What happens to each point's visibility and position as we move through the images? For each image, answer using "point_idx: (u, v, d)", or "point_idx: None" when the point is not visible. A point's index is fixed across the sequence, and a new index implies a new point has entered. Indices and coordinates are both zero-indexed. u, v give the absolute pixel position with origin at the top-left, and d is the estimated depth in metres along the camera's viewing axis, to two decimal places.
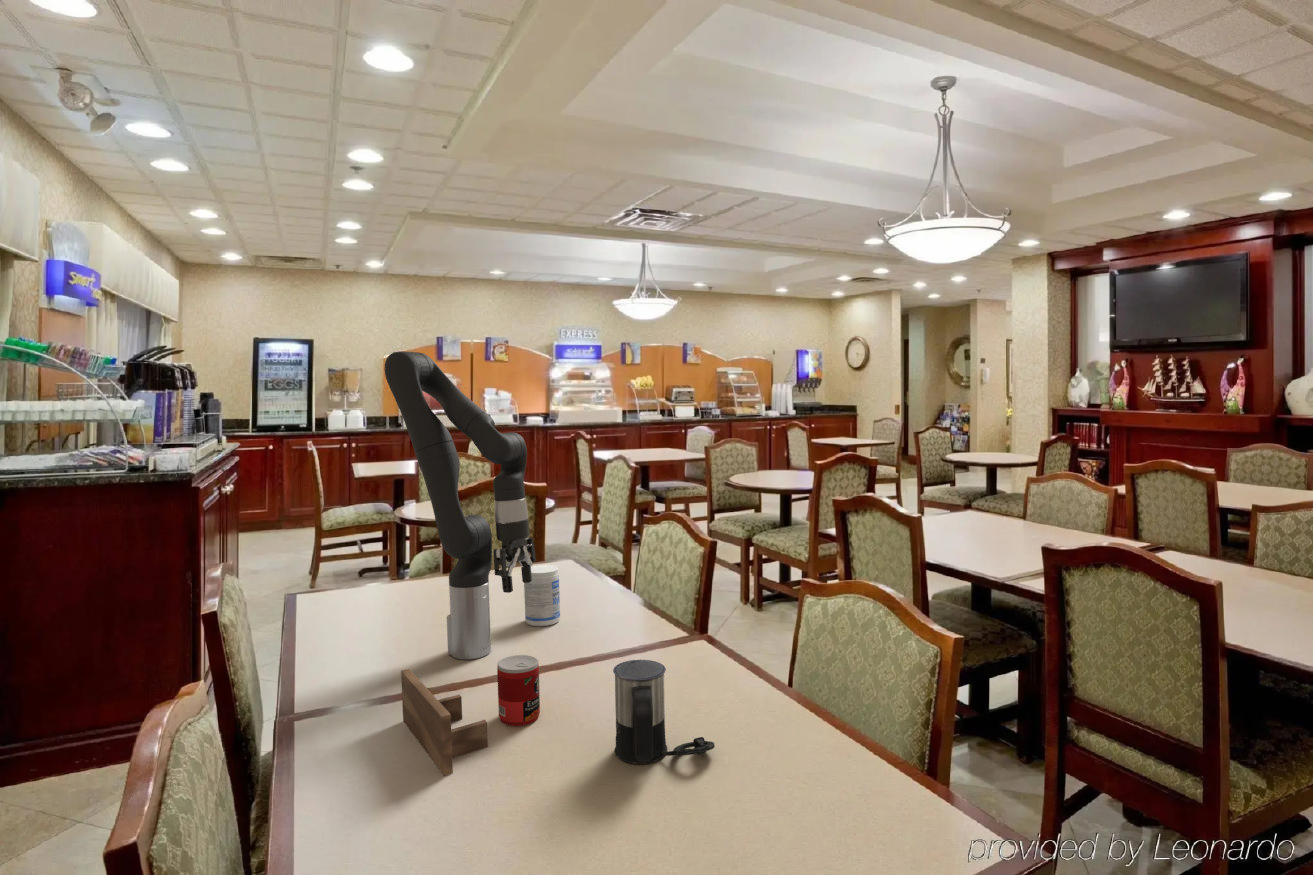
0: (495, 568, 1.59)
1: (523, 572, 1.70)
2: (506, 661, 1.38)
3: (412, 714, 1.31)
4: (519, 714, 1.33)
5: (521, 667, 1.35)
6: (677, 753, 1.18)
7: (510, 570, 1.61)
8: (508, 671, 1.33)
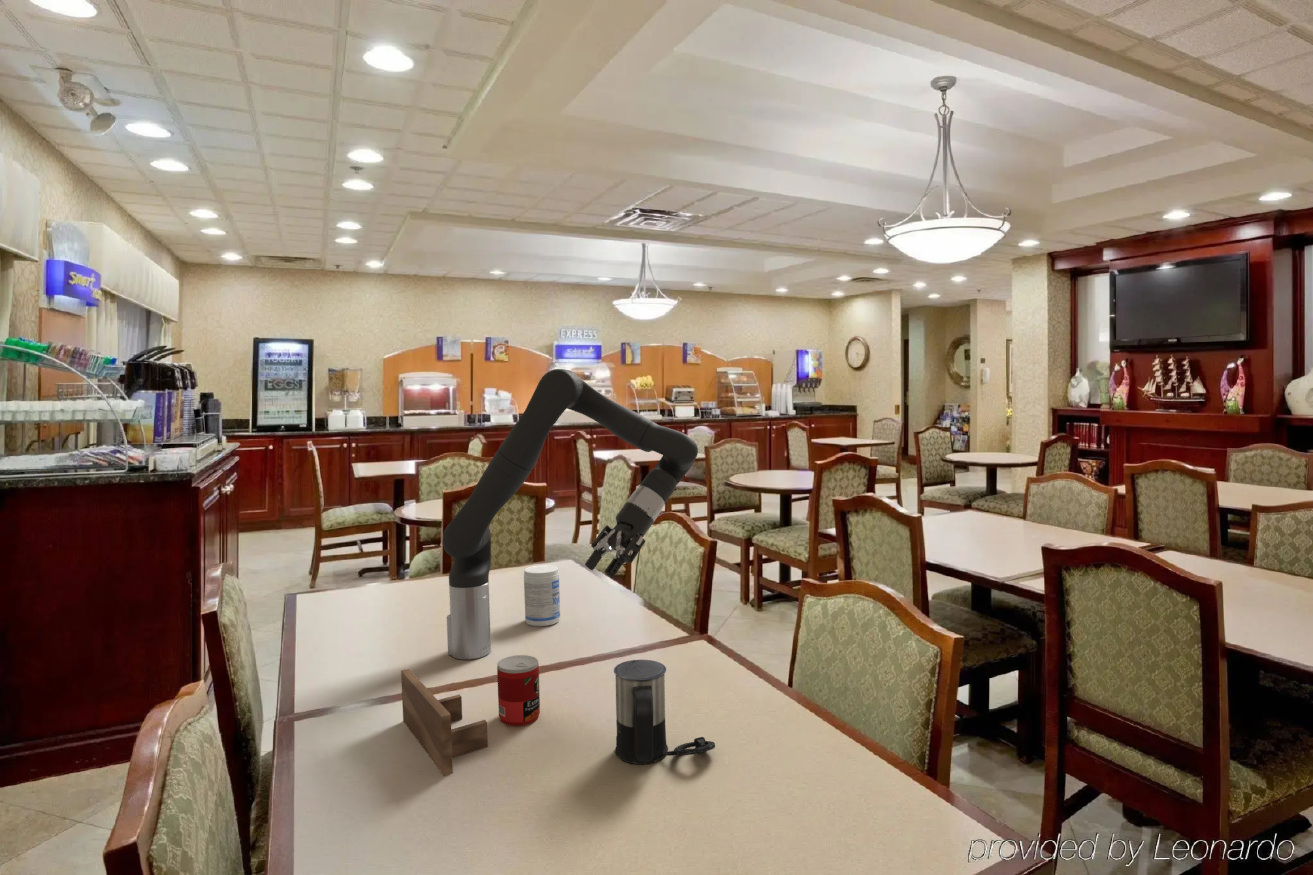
0: (628, 551, 1.47)
1: (594, 557, 1.55)
2: (506, 661, 1.38)
3: (412, 714, 1.31)
4: (519, 714, 1.33)
5: (521, 667, 1.35)
6: (678, 753, 1.18)
7: None
8: (508, 672, 1.33)
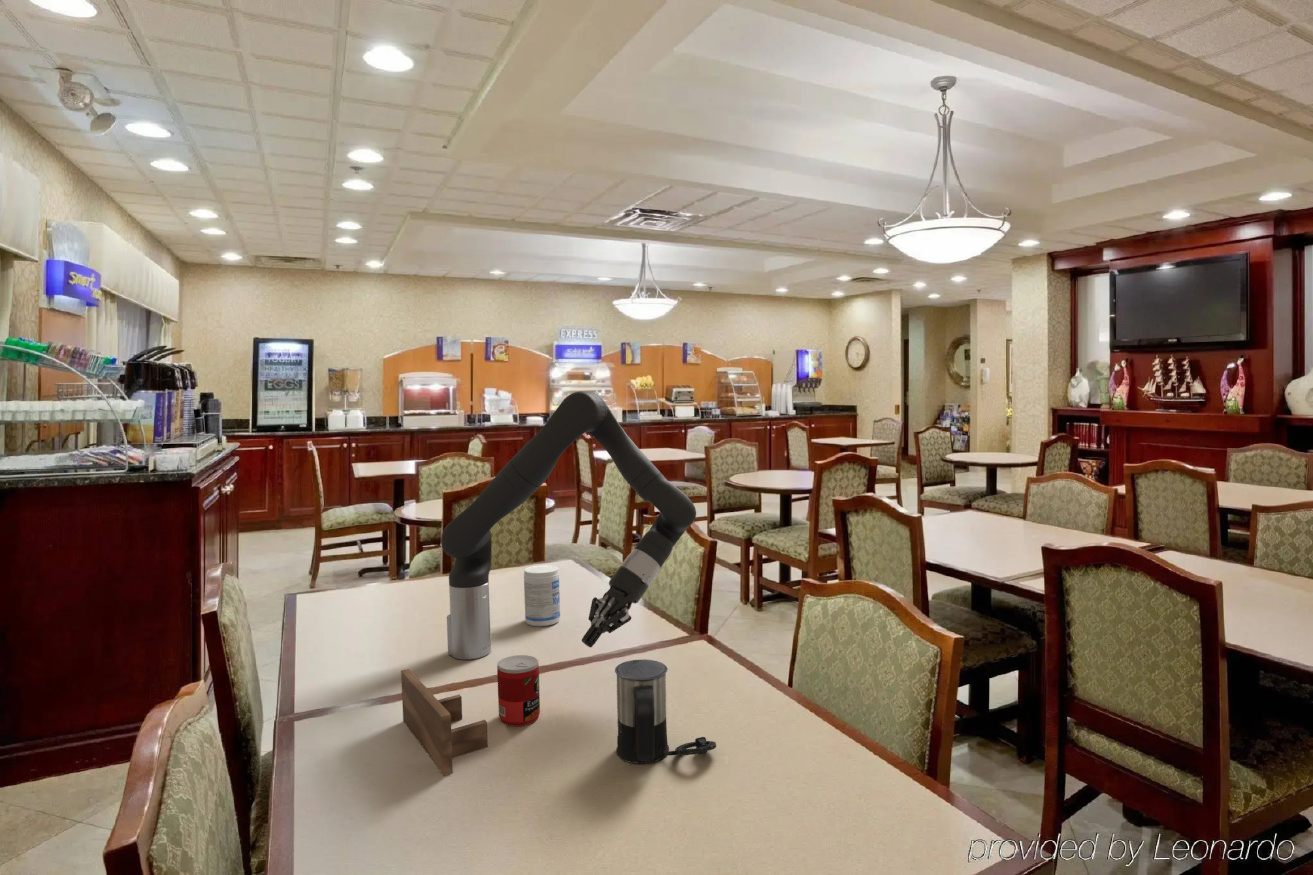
0: (608, 624, 1.44)
1: None
2: (506, 661, 1.38)
3: (412, 714, 1.31)
4: (519, 714, 1.33)
5: (521, 667, 1.35)
6: (679, 752, 1.18)
7: None
8: (508, 672, 1.33)
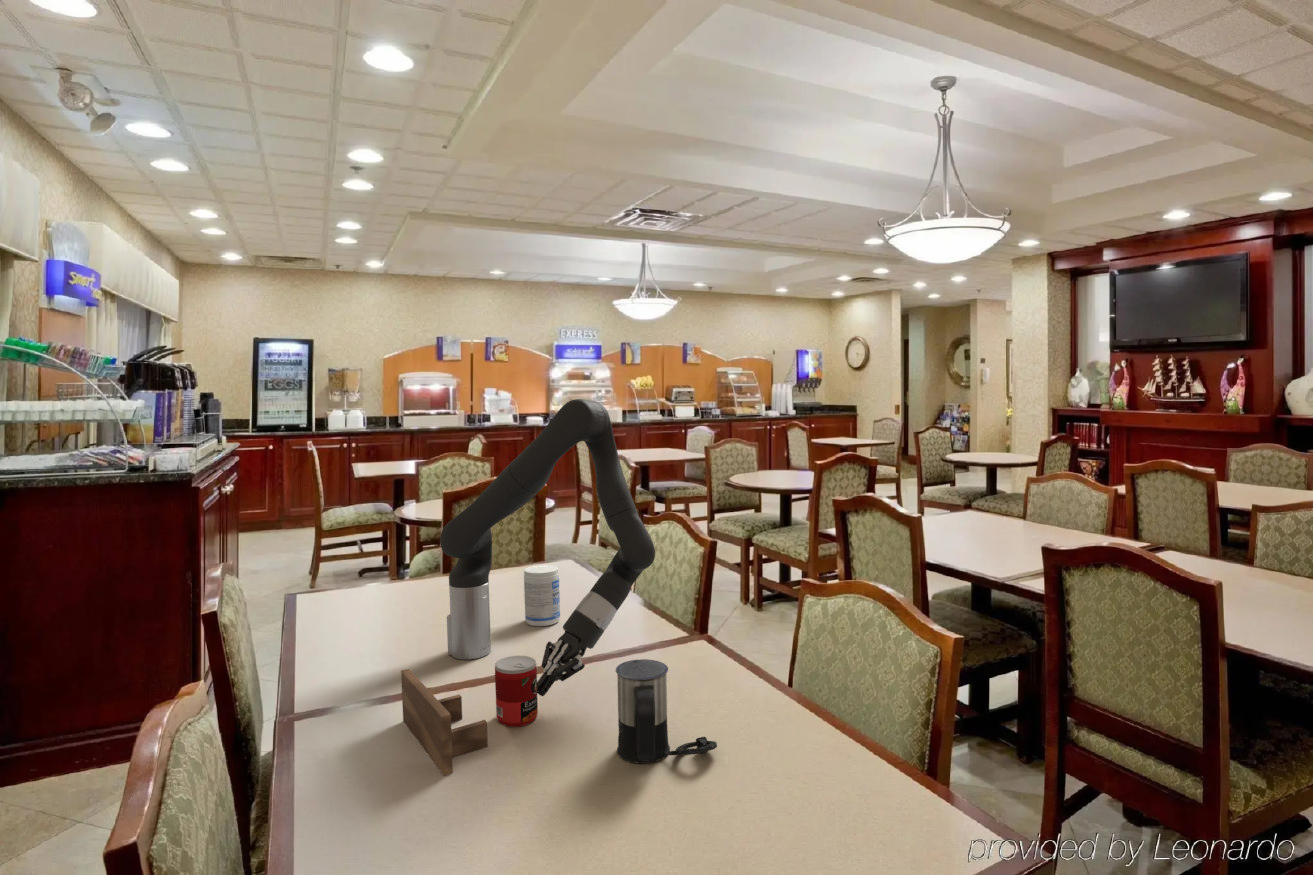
0: (560, 672, 1.38)
1: None
2: (504, 661, 1.38)
3: (412, 714, 1.31)
4: (516, 714, 1.33)
5: (519, 668, 1.34)
6: (680, 752, 1.18)
7: None
8: (505, 672, 1.33)
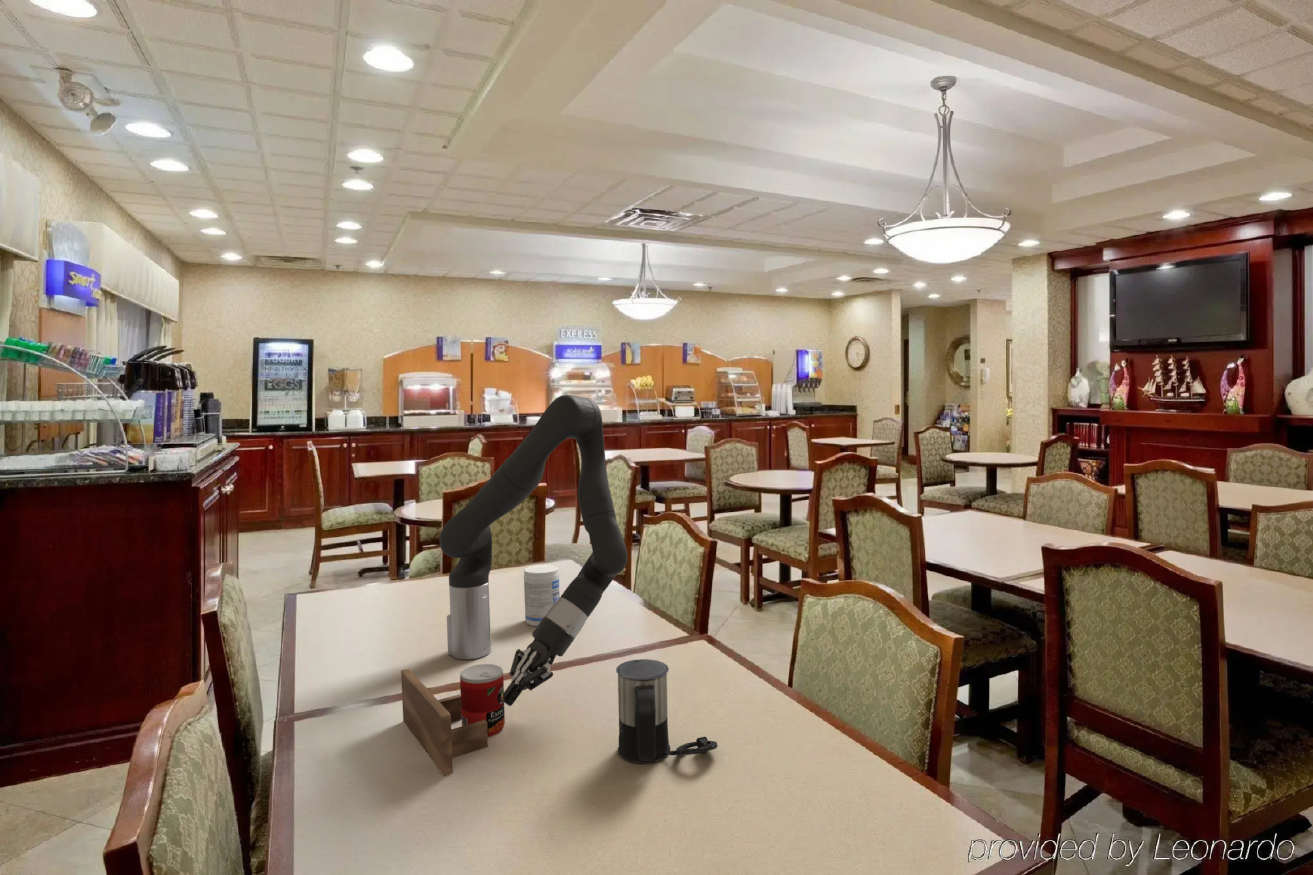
0: (528, 681, 1.34)
1: None
2: (470, 670, 1.34)
3: (412, 714, 1.31)
4: None
5: (484, 677, 1.30)
6: (680, 752, 1.18)
7: None
8: (470, 682, 1.29)
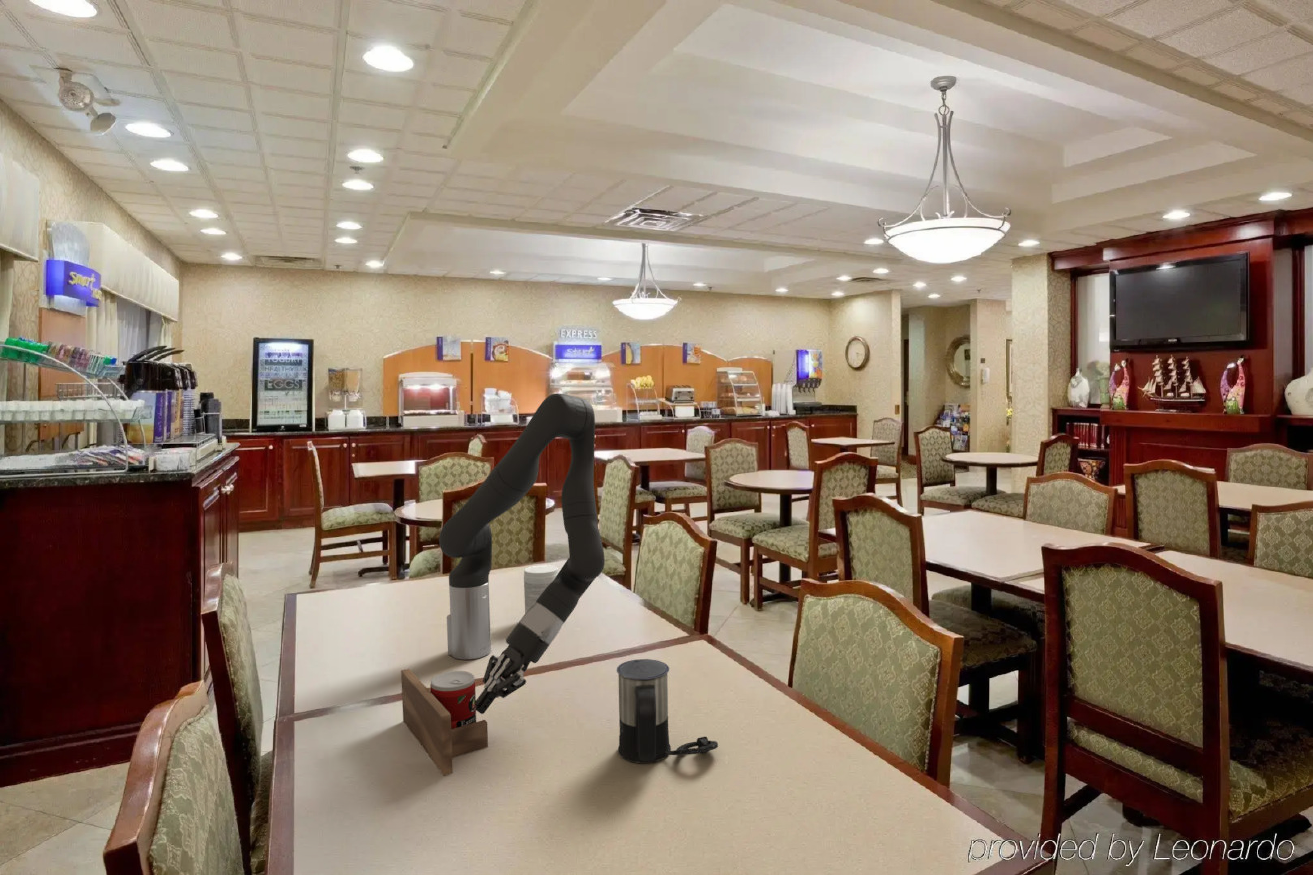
0: (500, 688, 1.31)
1: None
2: (441, 677, 1.30)
3: (412, 714, 1.31)
4: None
5: (455, 684, 1.27)
6: (681, 752, 1.19)
7: None
8: (440, 689, 1.25)
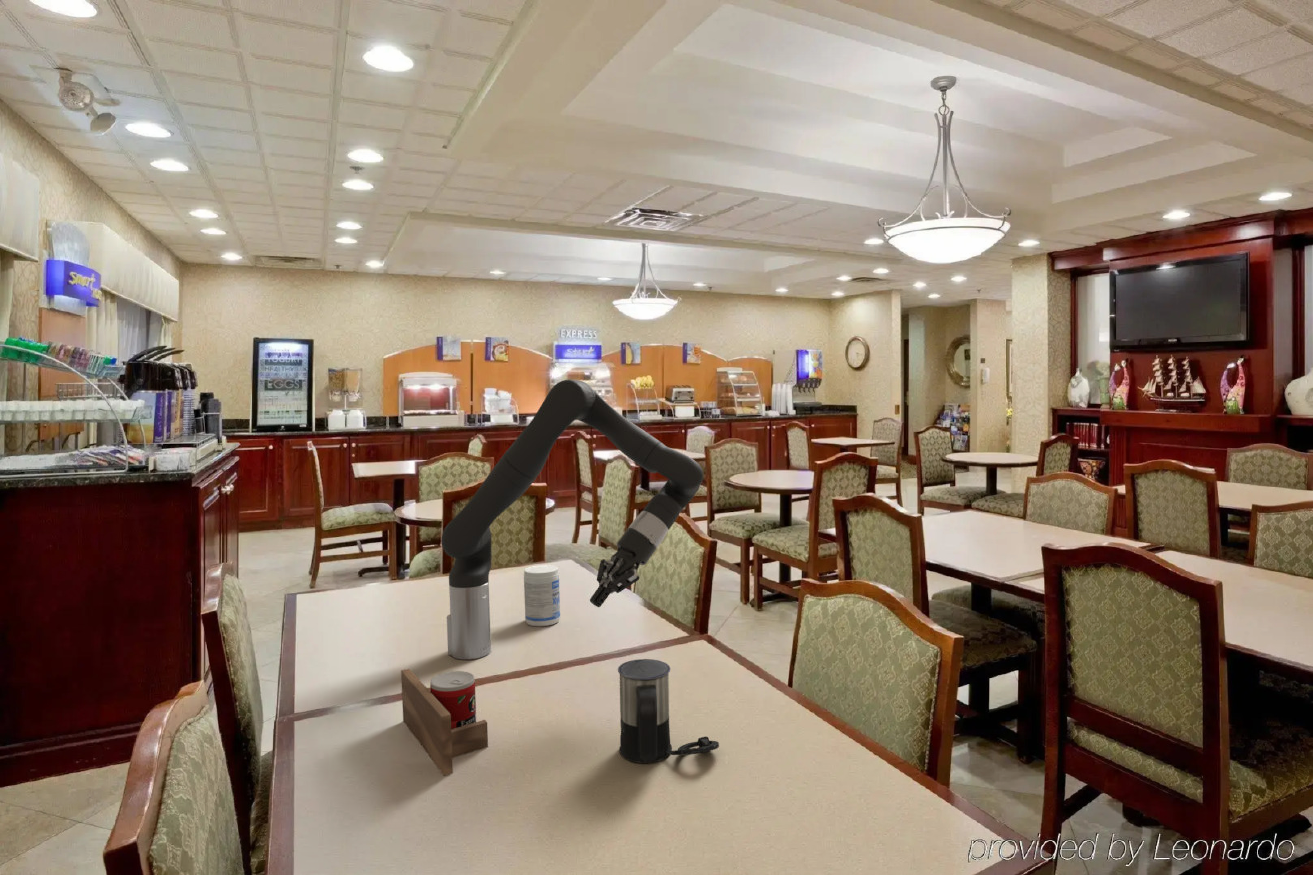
0: (616, 583, 1.44)
1: None
2: (441, 677, 1.30)
3: (412, 714, 1.31)
4: None
5: (455, 684, 1.27)
6: (682, 752, 1.19)
7: None
8: (440, 689, 1.25)
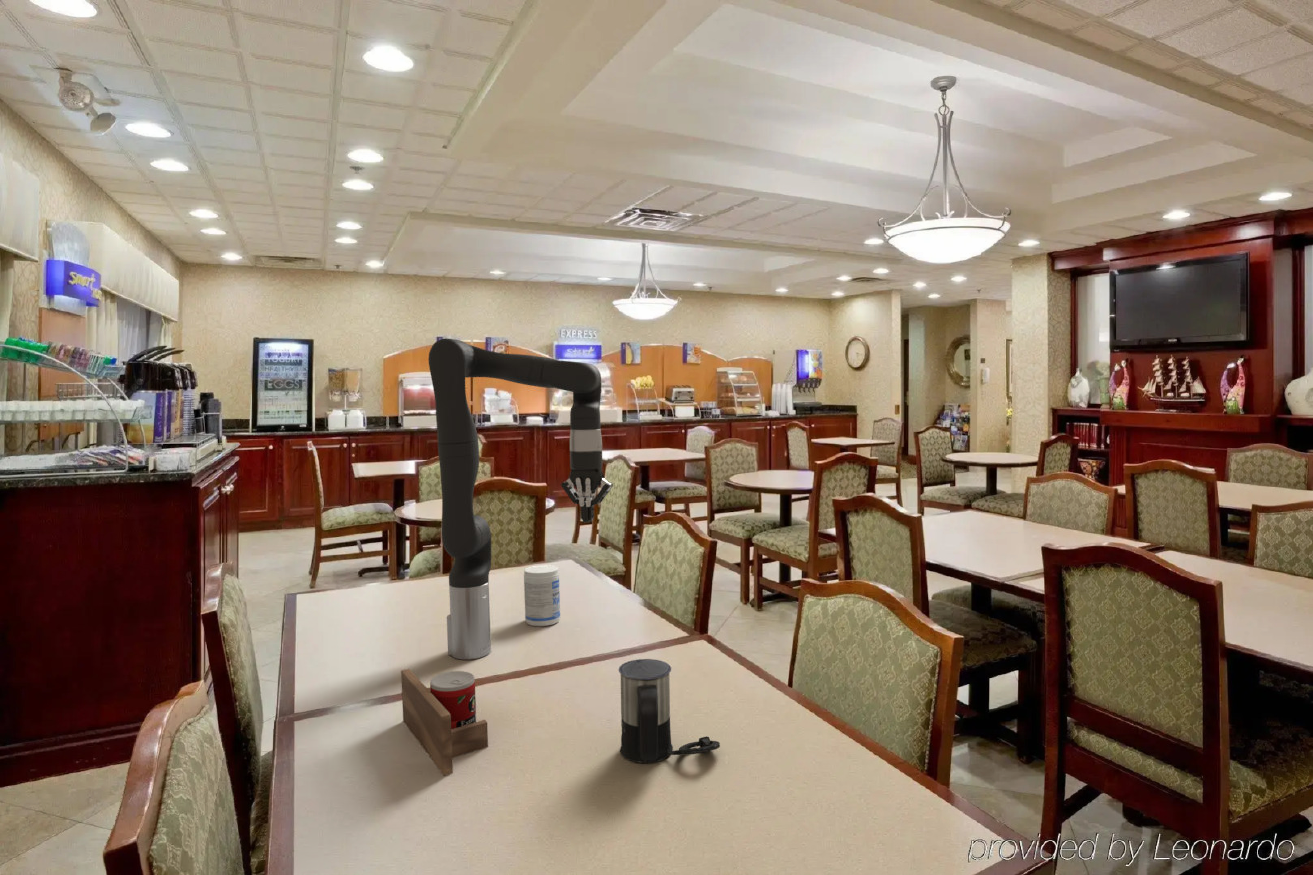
0: (599, 499, 1.65)
1: None
2: (441, 677, 1.30)
3: (412, 714, 1.31)
4: None
5: (455, 684, 1.27)
6: (683, 752, 1.19)
7: None
8: (440, 689, 1.25)
